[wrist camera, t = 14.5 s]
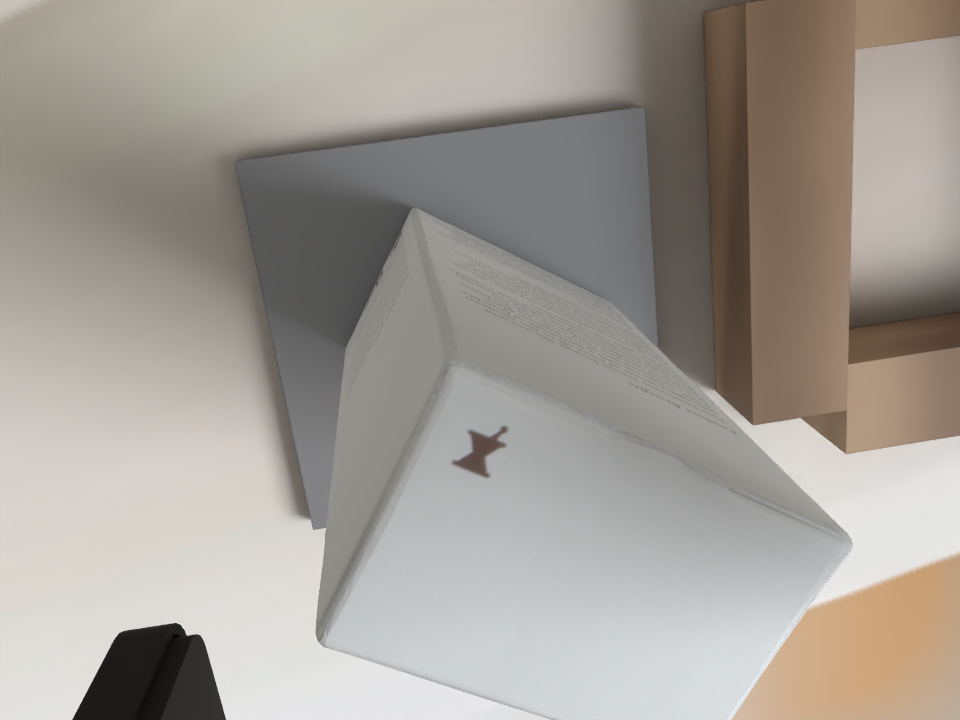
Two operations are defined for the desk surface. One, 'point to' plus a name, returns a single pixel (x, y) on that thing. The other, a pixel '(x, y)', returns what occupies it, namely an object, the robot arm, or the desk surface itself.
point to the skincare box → (551, 501)
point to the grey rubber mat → (455, 200)
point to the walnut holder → (810, 228)
